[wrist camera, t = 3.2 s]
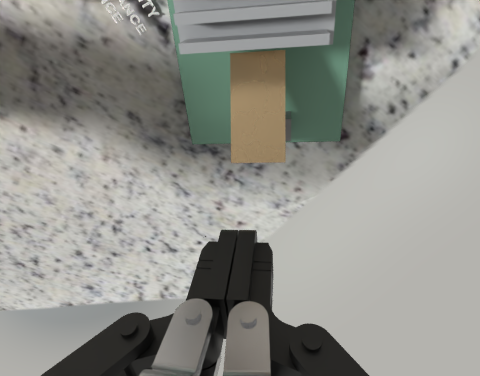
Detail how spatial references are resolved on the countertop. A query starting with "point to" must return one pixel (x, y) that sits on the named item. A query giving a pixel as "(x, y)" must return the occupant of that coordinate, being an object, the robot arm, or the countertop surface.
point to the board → (264, 39)
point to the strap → (257, 106)
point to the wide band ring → (129, 12)
